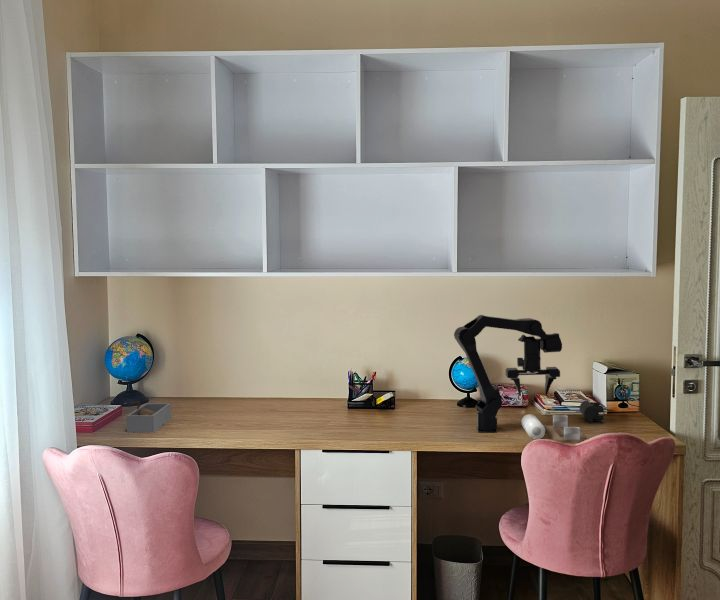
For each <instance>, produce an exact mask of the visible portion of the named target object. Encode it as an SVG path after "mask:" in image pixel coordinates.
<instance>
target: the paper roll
mask: <svg viewBox="0 0 720 600" xmlns="http://www.w3.org/2000/svg"><path fill="white" fill-rule="evenodd" d="M544 426H545V425H543V423H542V422H541V420H539V418H538V417H537V416H535V414H532V413H531V414H529V413H528V414H525V415H524V416H523V417H522V418H521V427H522V428H523V430H524V431H525V433H526V434H527V435H528V436H529V437H530V439H532V440H541V439H542V438H543V437H544V436H545V434H546V430H545V428H544Z"/></svg>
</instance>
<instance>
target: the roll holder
mask: <svg viewBox="0 0 720 600" xmlns="http://www.w3.org/2000/svg"><path fill="white" fill-rule="evenodd" d="M568 421H569V416H568V415H565V414H564V415H562V414H559V415H558V414H557V415H556V414H555V415H553V414H552V425H543V426H544V428H545V432H546V433H547V434H548V435H549V436H550V437H551V439H552V440H553V441H554V442H555V441H558V442H561V443H568V444H569V443H575V444H576V443H578V444H580V442H582V441H584V440H586V439H588V437H586V436H585V435H584V434H583V432H582V431H581V428H580V427H579V426H574V425H568V423H569V422H568ZM558 442H557V443H558Z"/></svg>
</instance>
